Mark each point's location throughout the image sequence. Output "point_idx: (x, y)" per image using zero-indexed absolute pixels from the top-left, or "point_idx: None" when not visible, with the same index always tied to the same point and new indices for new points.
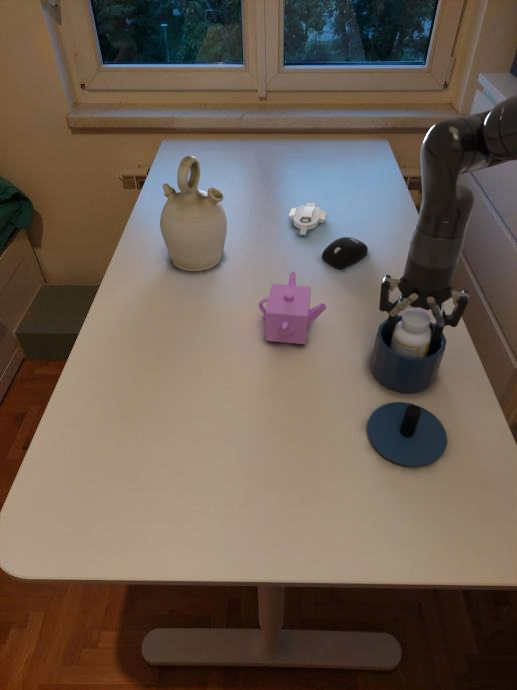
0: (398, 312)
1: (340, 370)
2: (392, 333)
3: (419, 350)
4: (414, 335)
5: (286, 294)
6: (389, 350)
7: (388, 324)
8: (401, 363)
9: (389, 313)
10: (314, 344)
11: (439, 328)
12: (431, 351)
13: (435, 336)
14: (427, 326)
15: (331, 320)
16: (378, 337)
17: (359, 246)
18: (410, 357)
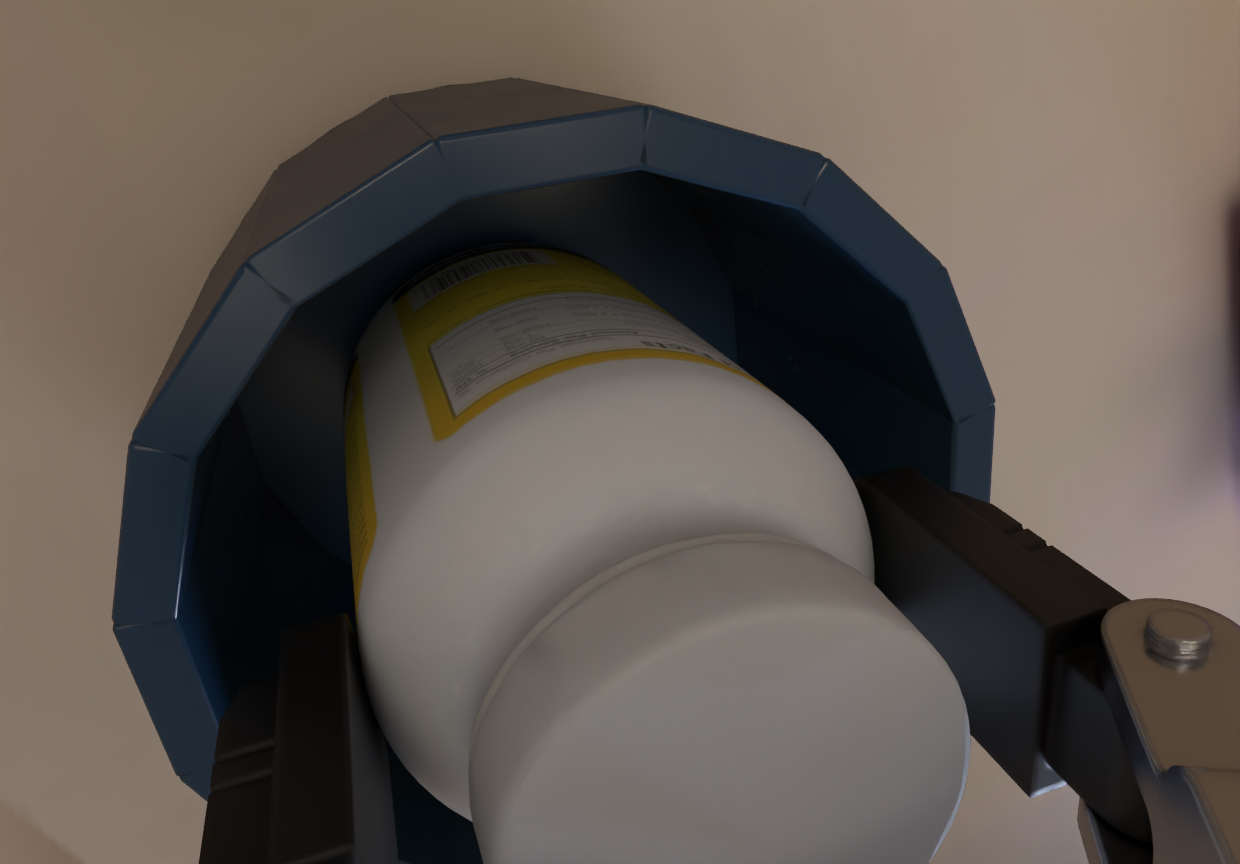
0: (1149, 708)
1: (949, 98)
2: None
3: (430, 416)
4: (611, 521)
5: None
6: (802, 169)
7: (998, 525)
8: (563, 105)
9: (1224, 618)
10: (1165, 270)
11: (273, 858)
12: None
13: (295, 696)
14: (494, 765)
15: (1093, 552)
16: (968, 341)
17: None
18: (494, 179)
